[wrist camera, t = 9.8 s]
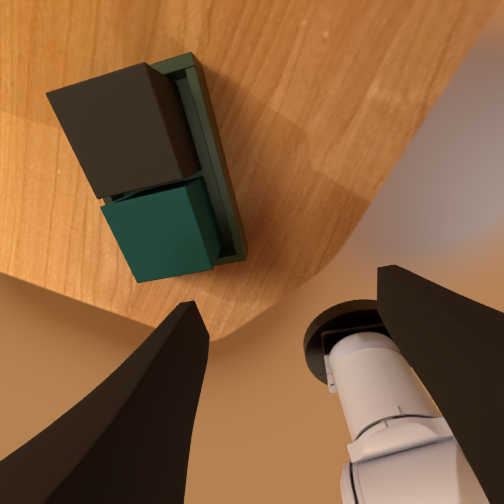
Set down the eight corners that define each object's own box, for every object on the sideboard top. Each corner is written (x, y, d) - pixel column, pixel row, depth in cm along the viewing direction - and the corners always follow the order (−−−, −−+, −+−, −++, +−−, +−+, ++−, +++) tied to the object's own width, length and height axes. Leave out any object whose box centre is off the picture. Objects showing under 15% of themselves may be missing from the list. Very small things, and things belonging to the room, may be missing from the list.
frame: (248, 249, 19) (246, 260, 17) (152, 267, 20) (141, 280, 18) (200, 62, 14) (191, 51, 12) (77, 100, 15) (52, 94, 13)
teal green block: (223, 242, 18) (212, 269, 15) (162, 254, 19) (137, 283, 15) (203, 176, 16) (185, 187, 13) (136, 192, 17) (99, 206, 13)
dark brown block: (202, 169, 16) (183, 178, 12) (134, 186, 17) (96, 199, 13) (176, 82, 14) (144, 61, 10) (100, 104, 15) (44, 92, 11)
